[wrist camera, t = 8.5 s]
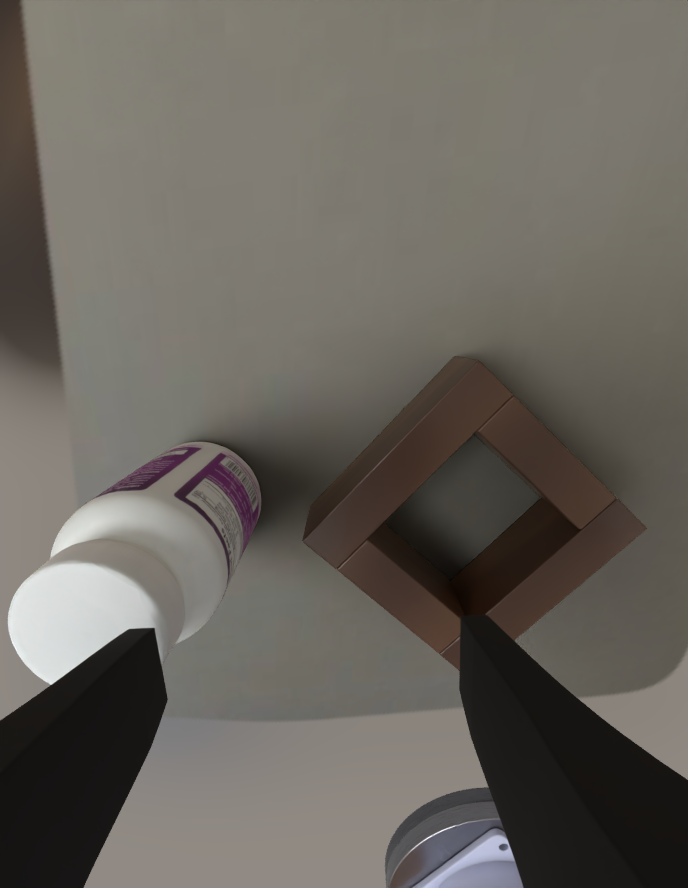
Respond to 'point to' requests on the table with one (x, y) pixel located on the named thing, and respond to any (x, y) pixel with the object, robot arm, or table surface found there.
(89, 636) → the pill bottle
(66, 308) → the table surface
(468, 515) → the table surface
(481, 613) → the frame
